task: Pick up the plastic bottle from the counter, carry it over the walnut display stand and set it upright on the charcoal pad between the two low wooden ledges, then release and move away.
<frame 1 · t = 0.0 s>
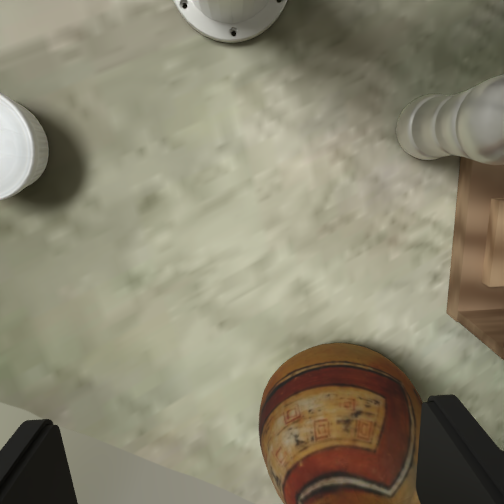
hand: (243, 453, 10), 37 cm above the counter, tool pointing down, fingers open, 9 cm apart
ramekin: (9, 144, 43), on the counter
ceramic pitcher: (330, 391, 53), on the counter
plastic bottle: (418, 128, 43), on the counter
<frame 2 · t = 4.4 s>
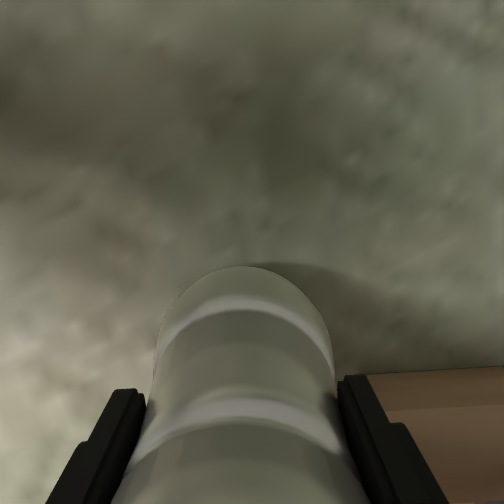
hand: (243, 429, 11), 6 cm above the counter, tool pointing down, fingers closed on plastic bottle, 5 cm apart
plastic bottle: (244, 321, 17), on the counter, touching gripper
when the fingers open (11 cm above the counter, at t = 12.9 s): plastic bottle drops 1 cm, resting on display stand.
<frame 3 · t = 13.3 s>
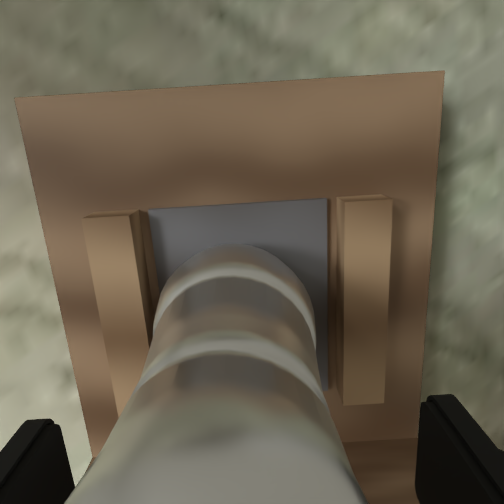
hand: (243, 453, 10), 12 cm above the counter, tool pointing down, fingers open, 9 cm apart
display stand: (244, 286, 21), on the counter
plastic bottle: (237, 296, 18), point 3 cm above the counter, touching display stand
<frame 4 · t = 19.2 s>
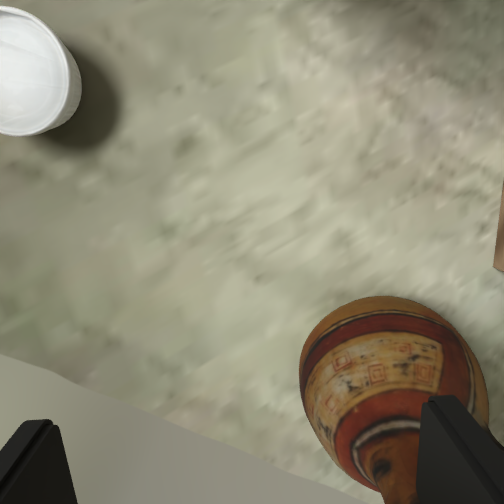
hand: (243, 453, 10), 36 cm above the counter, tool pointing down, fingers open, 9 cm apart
ramekin: (40, 82, 41), on the counter
ceramic pitcher: (368, 352, 50), on the counter
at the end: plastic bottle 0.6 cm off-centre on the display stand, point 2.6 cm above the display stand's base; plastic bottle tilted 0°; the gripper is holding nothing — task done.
